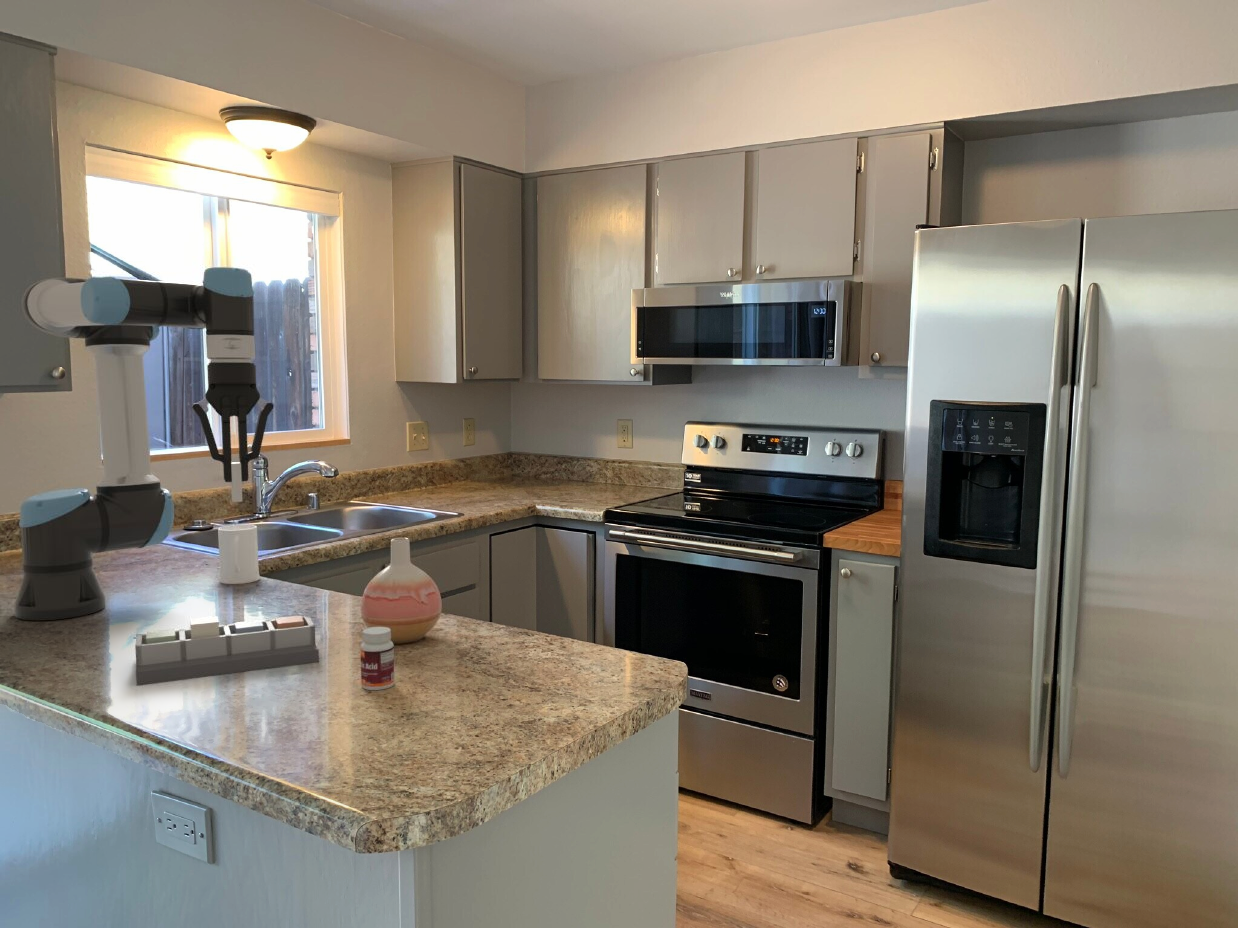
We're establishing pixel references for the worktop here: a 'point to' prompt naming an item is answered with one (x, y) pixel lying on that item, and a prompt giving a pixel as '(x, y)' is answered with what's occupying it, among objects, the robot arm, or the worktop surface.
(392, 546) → the vase
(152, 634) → the key sage
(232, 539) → the mug
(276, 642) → the grey slotted tray
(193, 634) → the key cream
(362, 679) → the pill bottle
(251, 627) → the key slate
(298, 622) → the key rust
